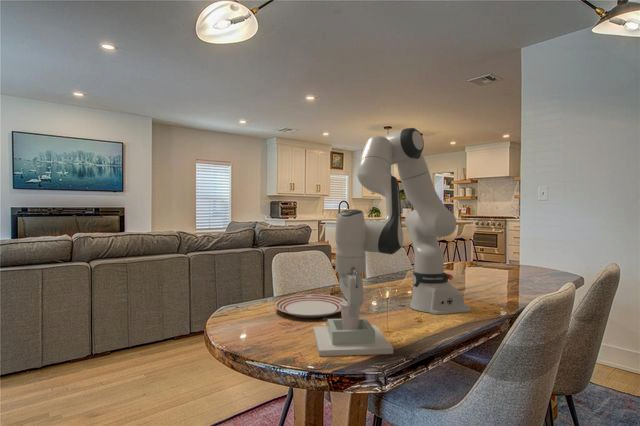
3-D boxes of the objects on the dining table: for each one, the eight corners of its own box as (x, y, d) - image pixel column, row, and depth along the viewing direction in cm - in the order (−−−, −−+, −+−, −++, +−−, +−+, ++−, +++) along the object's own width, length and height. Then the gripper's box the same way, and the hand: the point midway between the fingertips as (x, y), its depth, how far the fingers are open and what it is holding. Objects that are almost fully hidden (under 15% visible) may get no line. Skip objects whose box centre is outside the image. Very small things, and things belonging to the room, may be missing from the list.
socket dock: (375, 329, 120) (375, 314, 120) (393, 353, 100) (393, 335, 100) (313, 331, 119) (313, 315, 118) (319, 356, 99) (319, 337, 99)
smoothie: (337, 332, 113) (338, 286, 112) (358, 332, 113) (359, 285, 113) (340, 340, 106) (341, 290, 106) (363, 339, 107) (363, 290, 106)
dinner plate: (341, 324, 126) (341, 314, 126) (264, 319, 132) (264, 310, 132) (351, 304, 153) (351, 296, 153) (287, 300, 159) (287, 292, 159)
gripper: (369, 271, 99) (368, 323, 99) (354, 260, 120) (354, 303, 120) (345, 271, 99) (345, 323, 99) (335, 260, 119) (335, 303, 119)
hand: (350, 312), depth 109 cm, fingers closed on smoothie, 6 cm apart
